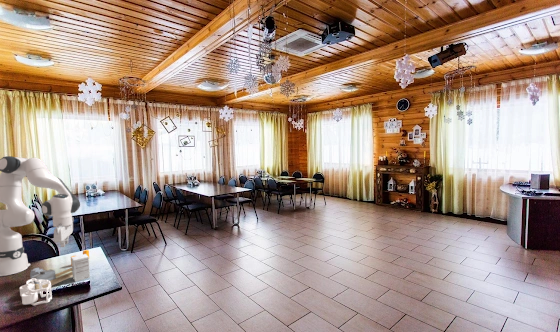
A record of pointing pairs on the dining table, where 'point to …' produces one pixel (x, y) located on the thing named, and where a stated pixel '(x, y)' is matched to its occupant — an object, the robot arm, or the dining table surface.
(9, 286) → the dining table surface
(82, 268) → the supplement box
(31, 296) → the car outline toy
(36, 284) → the wooden rectangular frame
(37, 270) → the stepped grey block
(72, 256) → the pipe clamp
